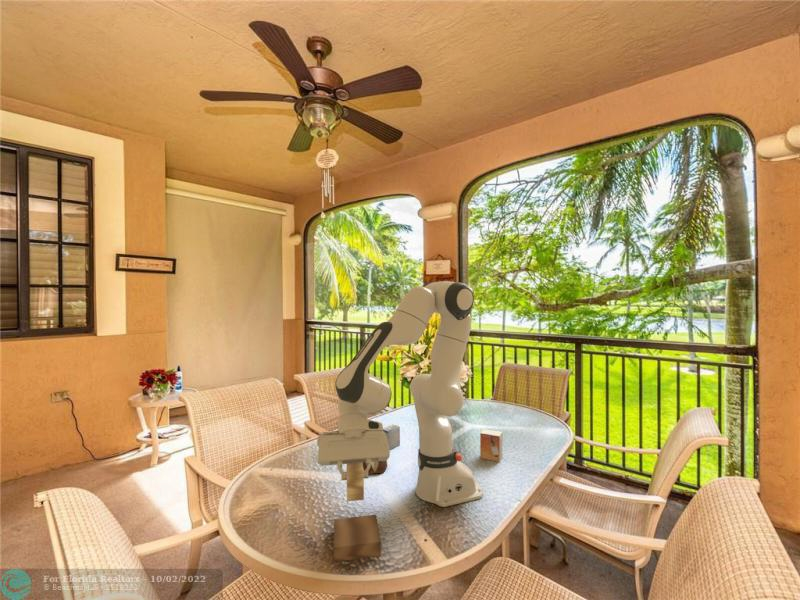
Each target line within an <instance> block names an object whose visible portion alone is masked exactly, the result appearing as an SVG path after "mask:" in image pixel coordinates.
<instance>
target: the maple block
mask: <svg viewBox="0 0 800 600" xmlns="http://www.w3.org/2000/svg"><path fill="white" fill-rule="evenodd" d="M346 471H347V480H346V502H356V501H364V500H365V493H364V492H365V488H364V487H365V486H364V484H365V483H364V480H365V478H364V469H363V463H350V464H346Z"/></svg>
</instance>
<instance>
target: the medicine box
mask: <svg viewBox="0 0 800 600" xmlns="http://www.w3.org/2000/svg"><path fill="white" fill-rule="evenodd" d="M400 428H401V427H400V426H399V425H397V424H390V425H388V426H385V427H383V432H384V433H385V434H386V436H387V440H388V444H389V450H390V451H391V450H393V449H395V448H397V447H398V446H400V445H401V429H400Z"/></svg>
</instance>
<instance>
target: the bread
mask: <svg viewBox="0 0 800 600" xmlns="http://www.w3.org/2000/svg"><path fill="white" fill-rule="evenodd" d="M366 468H367V466H366V462H364V463H363V469H364V470H366ZM387 469H388V460H387V461H376V462H372V463H371V467H370V469H369V471H368V475H373V473H376V475H378V474H377V473H380V474H383V473H384V472H385V471H386V470H387Z"/></svg>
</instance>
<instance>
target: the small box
mask: <svg viewBox="0 0 800 600" xmlns="http://www.w3.org/2000/svg"><path fill="white" fill-rule="evenodd" d="M479 439H480V440H479V441H480V442H479V444H480V445H479V446H480V447H479V451H480V453H479V454H480V456H479V458H480V459H482V460H486V461H487V460H488V461H491V462H497V463H500V462H501V460H502V458H503V449H504V448H503V443H504V442H503V432H502V431H497V430H490V429H485V428H483V430H481V432H480V437H479Z"/></svg>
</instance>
